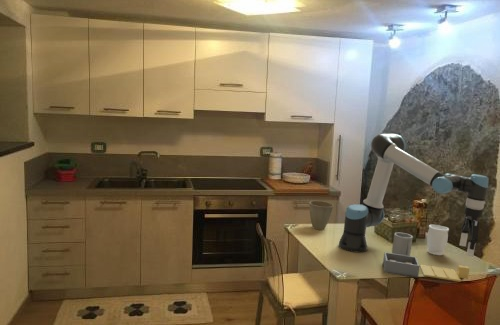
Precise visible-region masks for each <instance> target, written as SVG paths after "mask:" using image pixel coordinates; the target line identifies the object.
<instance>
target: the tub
mask: <svg viewBox="0 0 500 325" xmlns="http://www.w3.org/2000/svg"><path fill="white" fill-rule="evenodd" d="M420 265H421V264H420V263H419V260H418V258H417V257H416V256H412V255H410V256H405V255H399V254H392V252H384V254H383V260H382V266H383V271H384V274H385V273H386V274H391V275H396V276H397V275H398V276H403V277H409V278H414V279H415V278H416V279H418V278H419V273H420Z"/></svg>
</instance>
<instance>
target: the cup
mask: <svg viewBox="0 0 500 325" xmlns="http://www.w3.org/2000/svg"><path fill="white" fill-rule="evenodd" d="M413 238H414V236H413V235H412V234H409V233H405V232H394V235H393V242H392V248H391V253H392V254H399V255H405V256H411V251H412V245H413V244H412V243H413Z"/></svg>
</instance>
